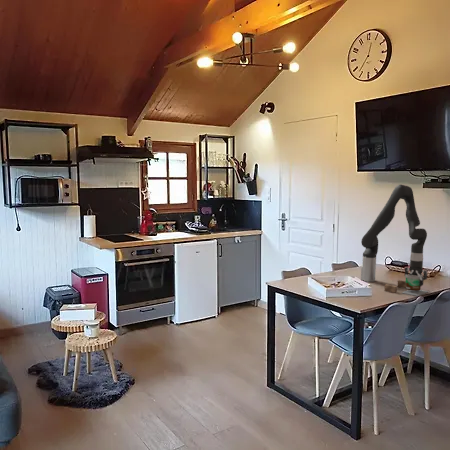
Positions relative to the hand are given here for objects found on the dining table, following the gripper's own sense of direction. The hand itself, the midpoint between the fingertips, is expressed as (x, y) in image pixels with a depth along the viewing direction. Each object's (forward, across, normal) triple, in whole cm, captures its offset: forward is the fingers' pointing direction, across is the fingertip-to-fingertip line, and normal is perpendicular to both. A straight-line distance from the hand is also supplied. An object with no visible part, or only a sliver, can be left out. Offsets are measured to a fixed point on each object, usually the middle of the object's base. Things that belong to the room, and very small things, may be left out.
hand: (415, 284), depth 294 cm
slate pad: (+5, 0, 0) cm, 5 cm away
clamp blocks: (+5, -12, 0) cm, 13 cm away
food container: (+4, 0, 0) cm, 4 cm away
